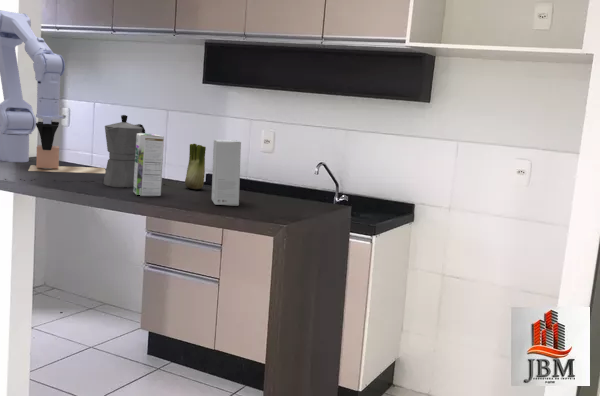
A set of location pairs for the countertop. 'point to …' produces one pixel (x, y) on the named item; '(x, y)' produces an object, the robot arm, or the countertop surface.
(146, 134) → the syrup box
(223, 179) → the skincare box
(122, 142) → the coffeepot
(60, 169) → the maple board
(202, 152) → the fennel bulb
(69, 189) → the countertop surface
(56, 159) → the salmon orange cube
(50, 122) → the robot arm
